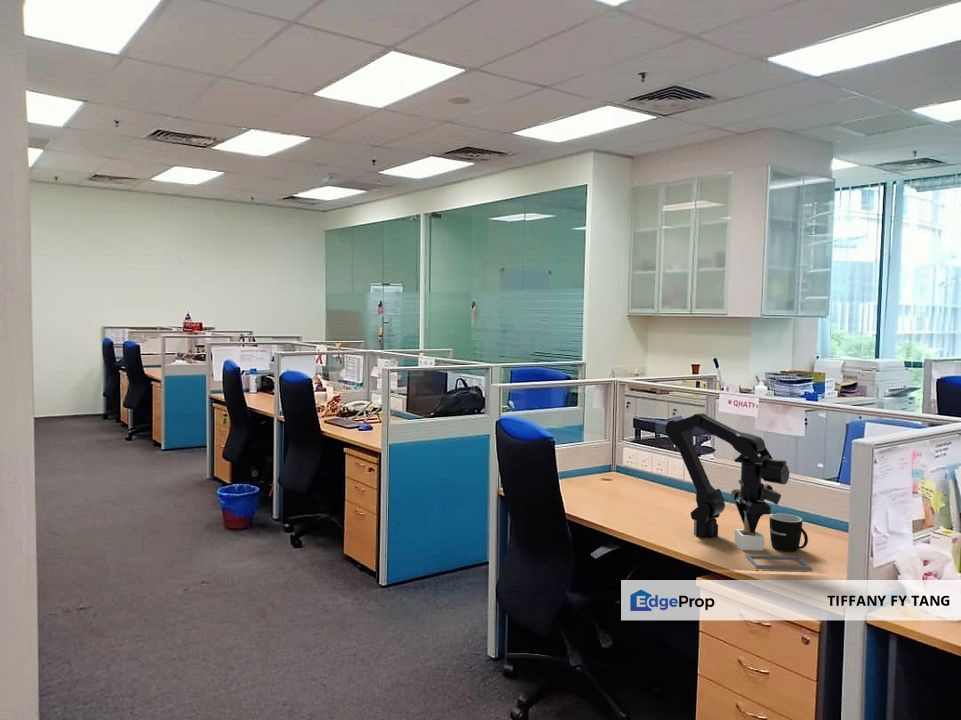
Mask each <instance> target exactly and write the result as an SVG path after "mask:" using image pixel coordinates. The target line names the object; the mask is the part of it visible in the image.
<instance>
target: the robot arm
mask: <svg viewBox="0 0 961 720" xmlns="http://www.w3.org/2000/svg"><path fill="white" fill-rule="evenodd" d="M698 428H699V429H701V430H703V431H705V432H707V433H709V434H711V435H713V436H715V437H716V438H718V439H720V440H722V441H724V442H726V443H728V444H730V446H732V448H733V449H734V451H736V452H738V453H739V456H738V457H736V458H734V460H733V461H734V463H739V464H740V463H741V464H740V466H741V467H740V468H741V469H740V479H738V484H740V489H733V490H732V491H731V493H730V498H731V499H732V500H733V501H734V502H733V503H734V504H735V507H736V510H737V511H738V514H739V516H740V519H741V522H742V523H743V525H744V517H745V516H746V520H747V523H748V526H749V529H750V532H751V533H754V532H755V530H757V527H758V524H759V521H760V518H761V517H763V516H764V515H772V507H771V506H770V505H769V504H768V503H767V502H765V500H766V501H769V502H770V503H773V504H774V505H779V502H780V500H781V497H782V494H780V493H779V492H778V491H776V490H773V486H772V485H770V484H769V483H774V484H778V485H779V484H780V485H786V484H788V481H789V479H790V471H789V466H788V465H787V461H786V460H783V459H782V460H781V459H780V460H778V459H773V458H774V457H773V456H772V455H771V453H770V452H769V449H767V447H766V444H765V440H764V439H763V438H762V437H761V436H758V435H754V434H752V433H751V434H750V433H748V432H747V433H746V432H742V431H738V430H737V429H734V428H732V427H731V426H728V425H726V424H724V423H722V422H720V421H719V420H716V419H714V418H713V417H710V416H709V415H707V414H706V413H703V412H702V413H694V414H692V415H691V416H688V417H686V418H685V417H684V418H680V419H673V420H669V421H667V423H666V424H665V427H664V433H665V434H666V436H667V437H668V439H669V441H670V443H672V444H673V445H674V446H675V447H676V448H677V449H678V452H679V453H680V456H681V457H682V460H683V463H684V465H685V467H686V470H687V471H688V474H689V476H690V479H691V482H692V484H693V486H694V488H695V502H696V506H697V507H696V508H694V509H693V510H692V511H691V512H690V517H691V519H692V520H693V535H694V536H695V537H697V538H701V539H713V538H718V537H719V524H718V523H717V522H718V521H717V518H718V519H719V517H720V516H721V513H723V512H724V511H725V507H726V504H725V501H726V499H725V497H724V496H723V493H722V490H721V489H720V488H717V489H716V488H715V487H714V486H712V485H711V483H710V479H709V477H708V475H707V474H706V471H705V468H704V466H703V464H702V461H701V459H700V458H699V455H698V452H697V450H696V447H695V445H694V443H693V441H694V440H693V439H694V433H693V430H696V429H698ZM762 480H763V481H764V482H766V483H765V484H764V483H763V482H762ZM767 482H768V483H767Z"/></svg>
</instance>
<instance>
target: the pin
mask: <svg viewBox="0 0 961 720" xmlns="http://www.w3.org/2000/svg"><path fill="white" fill-rule="evenodd" d="M743 530H744V535H755V532H754V533H751V532H750V529H749V526H748V523H747V520H746V516H745V517H744V524H743Z"/></svg>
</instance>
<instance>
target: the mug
mask: <svg viewBox="0 0 961 720" xmlns="http://www.w3.org/2000/svg"><path fill="white" fill-rule="evenodd" d="M769 534H770V542H771V543H770V544H771V547H772V549H774V550H776V551H779V552H784V553H796V552H797V551H798V550H802V549H804V548H806V547H807V545H808V542H809V538H808V537H809V536H808V533H807V532H806V531H805V529H804V528H803V518H801V517H800V516H797V515H795V514H788V513H771V514H769ZM802 535H803V539H804V542H803V544H802V545H800V543H801V538H802Z"/></svg>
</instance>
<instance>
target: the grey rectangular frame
mask: <svg viewBox="0 0 961 720" xmlns="http://www.w3.org/2000/svg"><path fill="white" fill-rule="evenodd" d="M745 559H747V561H748V562H749V563H750V564H752V566H753V567H754V568H755V571H757V572H760V571H759V570H760V569H761V570H762V571H761V572H773V569H775V570H777V569H778V570H801V572H800V573H806V571H808V570H809V571H812V568H813V567H812V566H811V565H810V564H809V563H808V562H806V561H805V560H804V559H803V558H802V557H801V556H799V555H778V554H777V555H775V554H748V553H747V554H745ZM755 559H766V560H767V559H768V560H769V559H772V560H797V561H798V562H799V563H801V564H802V565H792V564H791V565H787V564H786V565H784V564H782V565H781V564H759V563H757V561H755ZM765 569H766V570H765ZM769 569H772V570H769ZM802 570H805V571H802Z"/></svg>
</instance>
